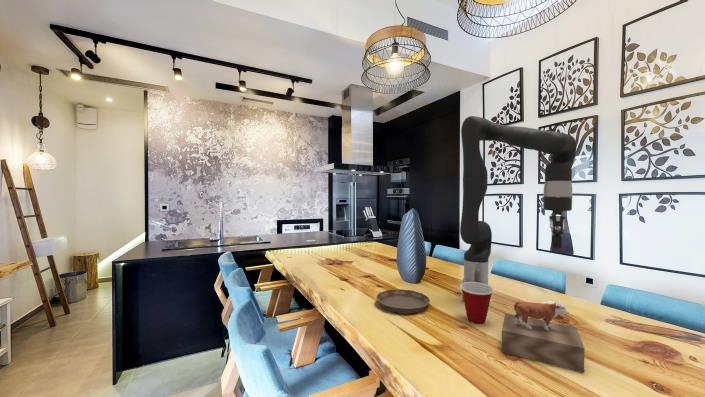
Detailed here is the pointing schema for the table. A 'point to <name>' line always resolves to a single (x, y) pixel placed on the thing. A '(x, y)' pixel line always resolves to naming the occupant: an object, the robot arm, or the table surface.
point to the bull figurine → (538, 312)
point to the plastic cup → (476, 301)
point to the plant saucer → (403, 301)
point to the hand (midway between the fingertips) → (556, 246)
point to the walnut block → (544, 343)
